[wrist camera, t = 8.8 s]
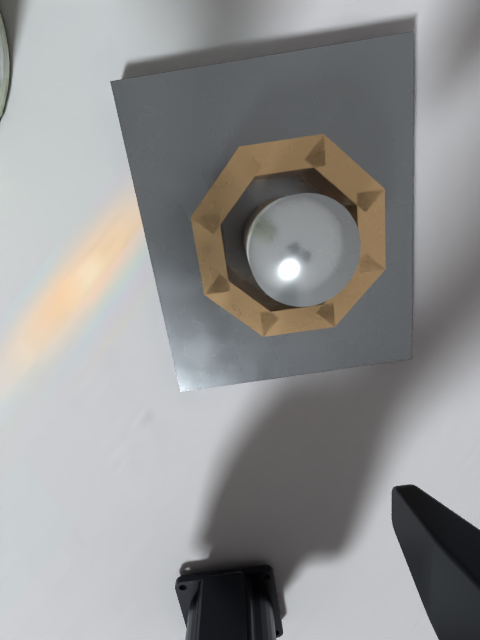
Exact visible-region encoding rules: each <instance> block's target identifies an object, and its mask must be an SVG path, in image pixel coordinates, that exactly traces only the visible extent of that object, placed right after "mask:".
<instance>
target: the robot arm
mask: <svg viewBox="0 0 480 640" xmlns="http://www.w3.org/2000/svg"><path fill="white" fill-rule="evenodd" d="M392 524H393V528H394V531H395V534H396V536H397V539H398V541H399V544H400V546H401V549H402V551H403V554H404V557H405V559H406V562H407V564H408V567H409V569H410V572H411V575H412V577H413V580H414V582H415V585H416V587H417V590H418V592H419V595H420V598H421V600H422V603H423V605H424V608H425V610H426V612H427V615H428V617H429V620H430V622H431V624H432V626H433V628H434V630H435V632H436V635H437V637H438V639H439V640H480V530H479V529H478V528H476V527H475V526H473V525H472V524H470V523H469V522H468V521H466V520H465V519H463V518H462V517H460V516H459V515H457V514H456V513H455V512H453V511H452V510H450V509H449V508H447V507H446V506H444V505H443V504H441V503H440V502H439V501H437V500H436V499H434V498H433V497H431V496H430V495H428V494H427V493H426V492H424V491H423V490H421V489H420V488H418V487H417V486H415V485H411V484H410V485H401V486H395V487H394V488H393V489H392ZM175 589H176V593H177V596H178V600H179V603H180V607H181V610H182V614H183V617H184V621H185V624H186V628H187V631H186V640H276V638H277V637H280V636H282V634H283V628H282V621H281V615H280V609H279V602H278V596H277V590H276V584H275V578H274V572H273V568H272V567H271V566H269V565H262V566H254V567H247V568H239V569H232V570H224V571H216V572H209V573H201V574H193V575H186V576H180V577H178V578H177V580H176V585H175Z"/></svg>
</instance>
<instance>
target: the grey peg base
mask: <svg viewBox="0 0 480 640" xmlns="http://www.w3.org/2000/svg"><path fill="white" fill-rule="evenodd" d="M110 82H111V86H112V91H113V95H114V100H115V104H116V109H117V113H118V117H119V122H120V126H121V131H122V135H123V139H124V144H125V148H126V153H127V157H128V162H129V166H130V170H131V175H132V179H133V184H134V188H135V193H136V197H137V201H138V206H139V210H140V215H141V219H142V223H143V228H144V232H145V237H146V241H147V246H148V250H149V254H150V259H151V263H152V268H153V272H154V277H155V281H156V285H157V290H158V294H159V299H160V303H161V308H162V312H163V316H164V321H165V325H166V330H167V334H168V338H169V343H170V347H171V352H172V356H173V361H174V365H175V369H176V374H177V378H178V383H179V387H180V392H184V391H191V390H198V389H205V388H211V387H218V386H225V385H232V384H239V383H246V382H253V381H260V380H267V379H274V378H281V377H288V376H295V375H302V374H309V373H316V372H323V371H330V370H337V369H344V368H351V367H358V366H365V365H372V364H379V363H386V362H393V361H400V360H407V359H412V255H413V114H414V31H413V32H407V33H401V34H395V35H389V36H383V37H377V38H371V39H365V40H359V41H353V42H347V43H340V44H334V45H328V46H322V47H316V48H310V49H304V50H298V51H292V52H286V53H280V54H274V55H268V56H261V57H255V58H249V59H243V60H237V61H231V62H225V63H219V64H213V65H207V66H201V67H195V68H188V69H182V70H176V71H170V72H164V73H158V74H152V75H146V76H140V77H134V78H128V79H122V80H115V81H110ZM319 134H325V135H326V136H327V137H328V138H329V139H330V140H331V141H332V142H333V143H335V144H336V145H337V146H338V147H339V148H340V149H341V150H342V151H343V152H345V153H346V154H347V155H348V156H349V157H350V158H351V159H352V160H353V161H354V162H356V163H357V164H358V165H359V166H360V167H361V168H362V169H363V170H364V171H366V172H367V173H368V174H369V175H370V176H371V177H372V178H373V179H374V180H375V181H377V182H378V183H379V184H380V185H381V186H382V187H383V188H384V189H385V265H386V269H385V270H384V272H383V273H382V274H381V275H380V276H379V277H378V278H377V280H376V281H375V282H374V283H373V284H372V285H371V286H370V288H369V289H368V290H367V291H366V292H365V293H364V294H363V296H362V297H361V298H360V299H359V300H358V301H357V302H356V303H355V305H354V306H353V307H352V308H351V309H350V310H349V311H348V313H347V314H346V315H345V316H344V317H343V318H342V319H341V321H340V322H339V323H338V324H337V325H336V326H335V327H331V328H324V329H316V330H309V331H302V332H295V333H287V334H280V335H273V336H266V337H263V336H261V335H260V334H259V333H257V332H256V331H254V330H253V329H252V328H250V327H249V326H247V325H246V324H245V323H243V322H242V321H240V320H239V319H237V318H236V317H235V316H233V315H232V314H230V313H229V312H228V311H226V310H225V309H223V308H222V307H221V306H219V305H218V304H216V303H215V302H214V301H212V300H211V299H209V298H208V297H207V296H205V295H204V290H203V284H202V279H201V273H200V267H199V262H198V256H197V250H196V245H195V239H194V233H193V228H192V222H191V216H192V215H193V213H194V212H195V210H196V209H197V207H198V206H199V204H200V203H201V202H202V200H203V199H204V197H205V196H206V194H207V193H208V191H209V190H210V188H211V187H212V185H213V184H214V183H215V181H216V180H217V178H218V177H219V175H220V174H221V172H222V171H223V169H224V168H225V166H226V165H227V164H228V162H229V161H230V159H231V158H232V156H233V155H234V153H235V152H236V150H237V149H238V147H239V146H246V145H252V144H259V143H266V142H272V141H279V140H286V139H292V138H299V137H306V136H312V135H319ZM222 225H223V232H224V238H225V245H226V252H227V258H228V265H229V268H230V269H231V270H232V271H234V272H235V273H236V274H238V275H239V276H241V277H242V278H243V279H245V280H246V281H247V282H249V283H250V284H251V285H253V286H254V287H255V288H257V289H258V290H259V291H261V292H262V293H263V294H267V295H269V296H270V297H271V298H273V299H274V300H276V301H278V302H280V303H283V304H286V305H289V306H295V307H307V306H313V305H317V304H320V303H323V302H325V301H327V300H329V299H331V298H333V297H334V296H336V295H337V294H338V293H339V292H340V291H342V290H343V289H344V287H345V286H346V285H347V284H348V283H349V281H350V280H351V278H352V277H353V275H354V273H355V271H356V269H357V266H358V263H359V259H360V253H361V241H360V234H359V230H358V228H357V225H356V222H355V221H354V219H353V217H352V216H351V214H350V213H349V212H348V210H347V209H346V208H345V207H344V206H342V205H341V204H340V203H338V202H337V201H336V200H334V199H332V198H330V197H327V196H324V195H321V194H320V193H318V192H317V191H316V190H315V189H314V188H313V187H311V186H310V185H309V184H308V183H307V182H306V181H304V180H303V179H302V178H301V177H300V176H299V175H296V176H289V177H282V178H275V179H268V180H262V181H255V182H250V184H249V185H248V186H247V188H246V189H245V191H244V192H243V193H242V195H241V196H240V198H239V199H238V200H237V202H236V203H235V205H234V206H233V208H232V209H231V210H230V212H229V213H228V215H227V216H226V217H225V219H224V220H223V222H222Z"/></svg>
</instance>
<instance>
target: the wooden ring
mask: <svg viewBox="0 0 480 640" xmlns="http://www.w3.org/2000/svg"><path fill="white" fill-rule="evenodd" d="M296 175H299V176H300V177H301V178H302V179H303V180H304V181H306V182H307V183H308V184H309V185H310V186H311V187H313V188H314V189H315V190H316V191H317V192H318V193H320V194H321V195H324V196H327V197H330V198H332V199H334V200H336V201H337V202H338V203H340V204H341V205H342V206H344V207H345V208H346V209H347V210H348V212H349V213H350V214H351V216H352V217H353V219H354V221H355V222H356V225H357V228H358V230H359V234H360V241H361V253H360V259H359V263H358V266H357V269H356V271H355V273H354V275H353V277H352V278H351V280H350V281H349V283H348V284H347V285H346V286H345V287H344V289H343V290H342V291H340V292H339V293H338V294H337V295H336V296H334V297H333V298H331V299H329V300H327V301H325V302H323V303H320V304H317V305H313V306H307V307H295V306H289V305H286V304H283V303H280V302H278V301H276V300H274V299H273V298H271V297H270V296H269V295H267V294H263V293H262V292H261V291H259V290H258V289H257V288H255V287H254V286H253V285H251V284H250V283H249V282H247V281H246V280H245V279H243V278H242V277H241V276H239V275H238V274H236V273H235V272H234V271H232V270H231V269H230V268H229V265H228V258H227V252H226V245H225V238H224V232H223V225H222V222H223V220H224V219H225V217H226V216H227V215H228V213H229V212H230V210H231V209H232V208H233V206H234V205H235V203H236V202H237V200H238V199H239V198H240V196H241V195H242V193H243V192H244V191H245V189H246V188H247V186H248V185H249V184H250V182H255V181H262V180H268V179H275V178H282V177H289V176H296ZM191 222H192V228H193V233H194V239H195V245H196V250H197V256H198V262H199V267H200V273H201V279H202V284H203V290H204V295H205V296H207V297H208V298H209V299H211V300H212V301H214V302H215V303H216V304H218V305H219V306H221V307H222V308H223V309H225V310H226V311H228V312H229V313H230V314H232V315H233V316H235V317H236V318H237V319H239V320H240V321H242V322H243V323H245V324H246V325H247V326H249V327H250V328H252V329H253V330H254V331H256V332H257V333H259V334H260V335H261V336H263V337H266V336H273V335H280V334H287V333H295V332H302V331H309V330H316V329H324V328H331V327H335V326H336V325H337V324H338V323H339V322H340V321H341V319H342V318H343V317H344V316H345V315H346V314H347V313H348V311H349V310H350V309H351V308H352V307H353V306H354V305H355V303H356V302H357V301H358V300H359V299H360V298H361V297H362V296H363V294H364V293H365V292H366V291H367V290H368V289H369V288H370V286H371V285H372V284H373V283H374V282H375V281H376V280H377V278H378V277H379V276H380V275H381V274H382V273H383V272H384V270H385V269H386V265H385V189H384V188H383V187H382V186H381V185H380V184H379V183H378V182H377V181H375V180H374V179H373V178H372V177H371V176H370V175H369V174H368V173H367V172H366V171H364V170H363V169H362V168H361V167H360V166H359V165H358V164H357V163H356V162H354V161H353V160H352V159H351V158H350V157H349V156H348V155H347V154H346V153H345V152H343V151H342V150H341V149H340V148H339V147H338V146H337V145H336V144H335V143H333V142H332V141H331V140H330V139H329V138H328V137H327V136H326V135H325V134H319V135H312V136H306V137H299V138H292V139H286V140H279V141H272V142H266V143H259V144H252V145H246V146H239V147H238V149H237V150H236V152H235V153H234V155H233V156H232V158H231V159H230V161H229V162H228V164H227V165H226V166H225V168H224V169H223V171H222V172H221V174H220V175H219V177H218V178H217V180H216V181H215V183H214V184H213V185H212V187H211V188H210V190H209V191H208V193H207V194H206V196H205V197H204V199H203V200H202V202H201V203H200V204H199V206H198V207H197V209H196V210H195V212H194V213H193V215H192V216H191Z"/></svg>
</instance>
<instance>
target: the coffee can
mask: <svg viewBox="0 0 480 640" xmlns="http://www.w3.org/2000/svg"><path fill="white" fill-rule="evenodd" d="M8 85H9V51H8V44H7V38H6V32H5V28H4V23H3V20H2V17H1V14H0V118H1V116H2V114H3V109H4V105H5V101H6V96H7V90H8Z"/></svg>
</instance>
